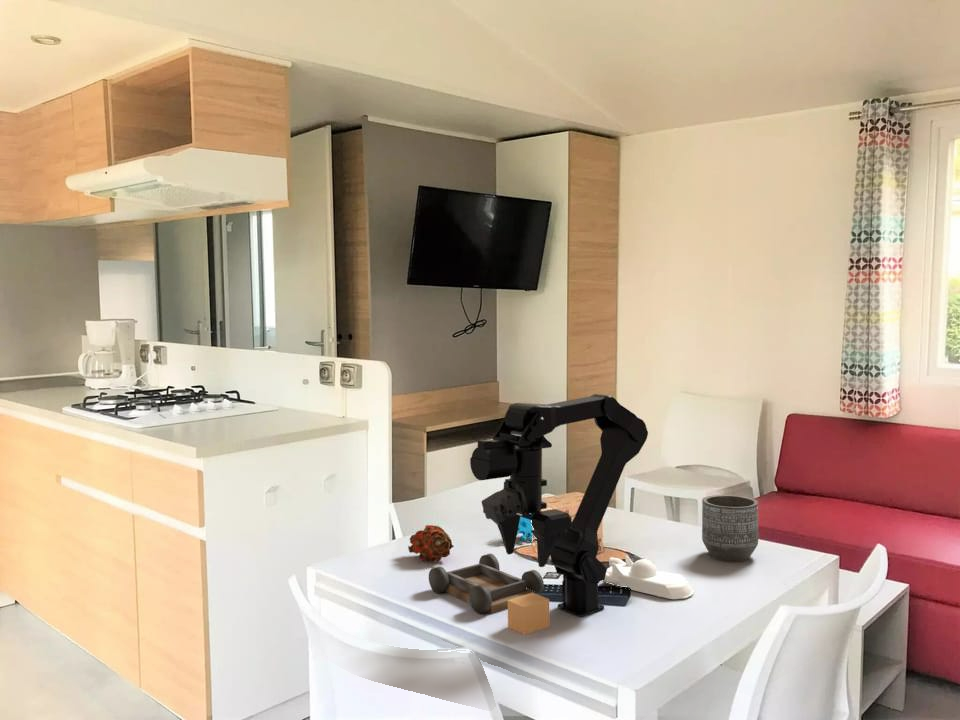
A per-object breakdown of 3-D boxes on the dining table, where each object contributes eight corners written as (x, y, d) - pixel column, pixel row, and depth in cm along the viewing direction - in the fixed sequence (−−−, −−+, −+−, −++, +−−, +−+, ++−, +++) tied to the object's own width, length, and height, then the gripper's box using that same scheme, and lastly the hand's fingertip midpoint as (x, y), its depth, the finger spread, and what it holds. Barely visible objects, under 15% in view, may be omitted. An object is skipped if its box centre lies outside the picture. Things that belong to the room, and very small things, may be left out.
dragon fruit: (449, 572, 180) (413, 569, 188) (467, 543, 186) (431, 541, 193) (430, 547, 177) (393, 545, 185) (448, 517, 182) (412, 517, 190)
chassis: (544, 598, 159) (543, 573, 159) (485, 616, 150) (485, 590, 150) (485, 574, 174) (484, 551, 174) (428, 589, 165) (428, 565, 165)
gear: (519, 540, 193) (502, 505, 198) (506, 554, 196) (489, 519, 201) (551, 537, 200) (534, 504, 205) (538, 550, 203) (521, 517, 209)
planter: (770, 559, 180) (770, 503, 179) (728, 568, 175) (728, 509, 174) (731, 545, 191) (731, 492, 190) (690, 552, 186) (690, 498, 185)
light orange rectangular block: (549, 626, 145) (549, 599, 145) (524, 635, 142) (523, 607, 141) (533, 619, 149) (532, 592, 149) (508, 627, 145) (507, 600, 145)
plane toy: (680, 606, 154) (680, 576, 154) (589, 586, 166) (588, 558, 166) (702, 590, 162) (702, 562, 162) (613, 572, 174) (613, 545, 174)
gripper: (459, 470, 147) (459, 555, 148) (523, 488, 132) (522, 582, 132) (507, 464, 153) (507, 545, 154) (574, 480, 138) (573, 570, 139)
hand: (525, 560), depth 145 cm, fingers open, 9 cm apart
